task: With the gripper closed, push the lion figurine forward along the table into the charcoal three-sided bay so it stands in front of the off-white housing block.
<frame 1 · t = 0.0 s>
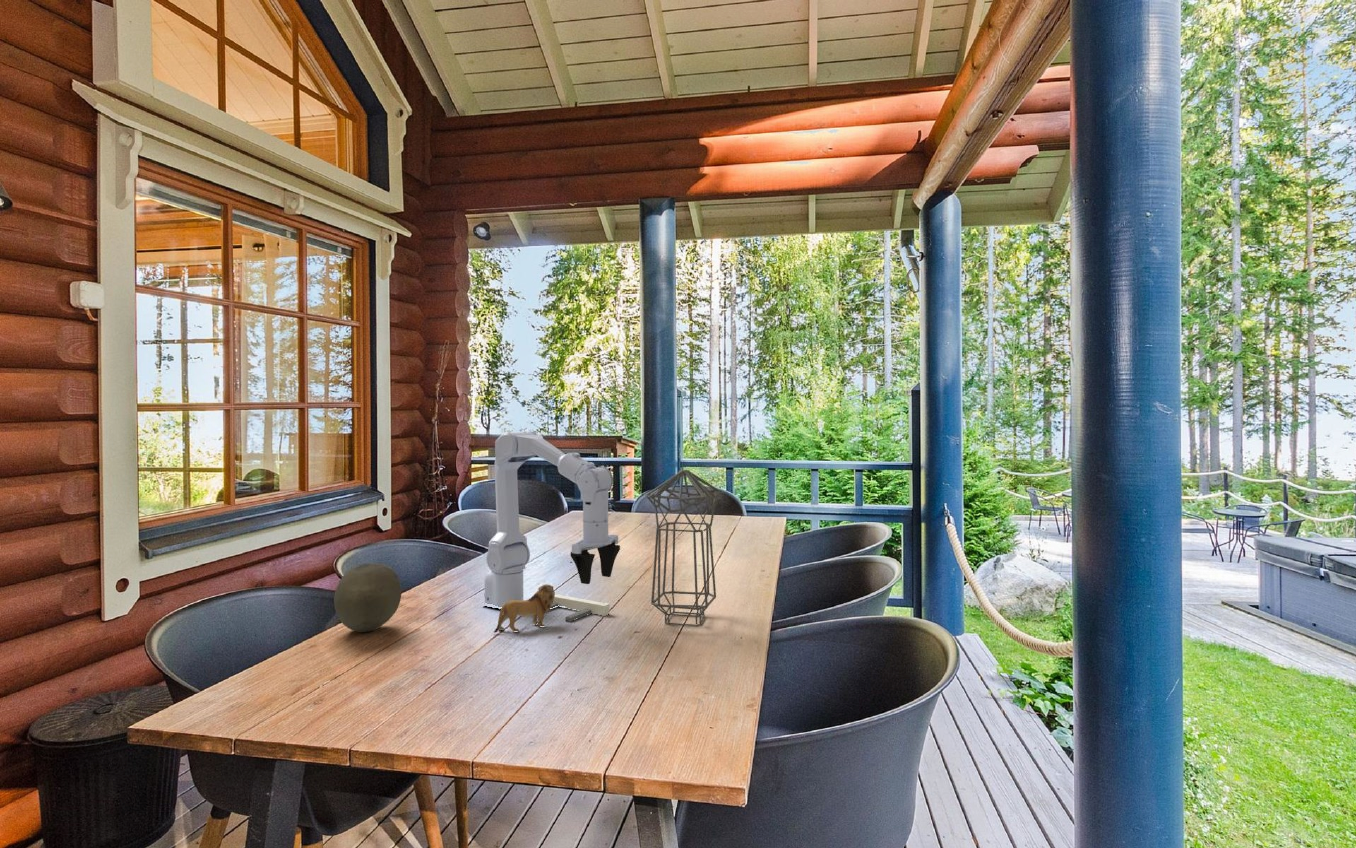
hand: (596, 579, 152), 10 cm above the table, tool pointing down, fingers open, 7 cm apart
lion figurine: (526, 628, 150), on the table
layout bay: (562, 613, 160), on the table
geometric lantern: (685, 620, 155), on the table
cantaloupe: (369, 632, 148), on the table
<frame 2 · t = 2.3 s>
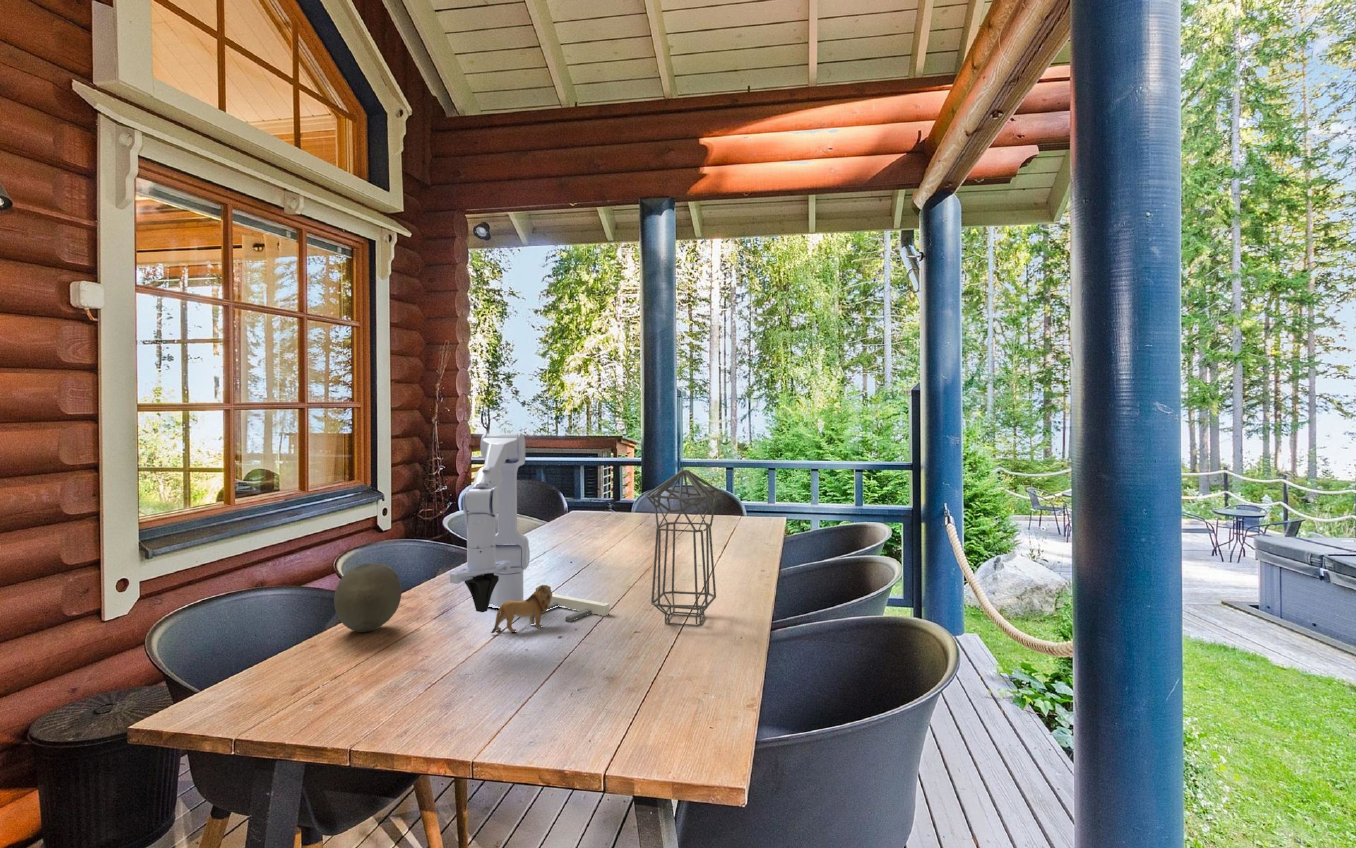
hand: (481, 611, 139), 7 cm above the table, tool pointing down, fingers closed
nothing on the table moved.
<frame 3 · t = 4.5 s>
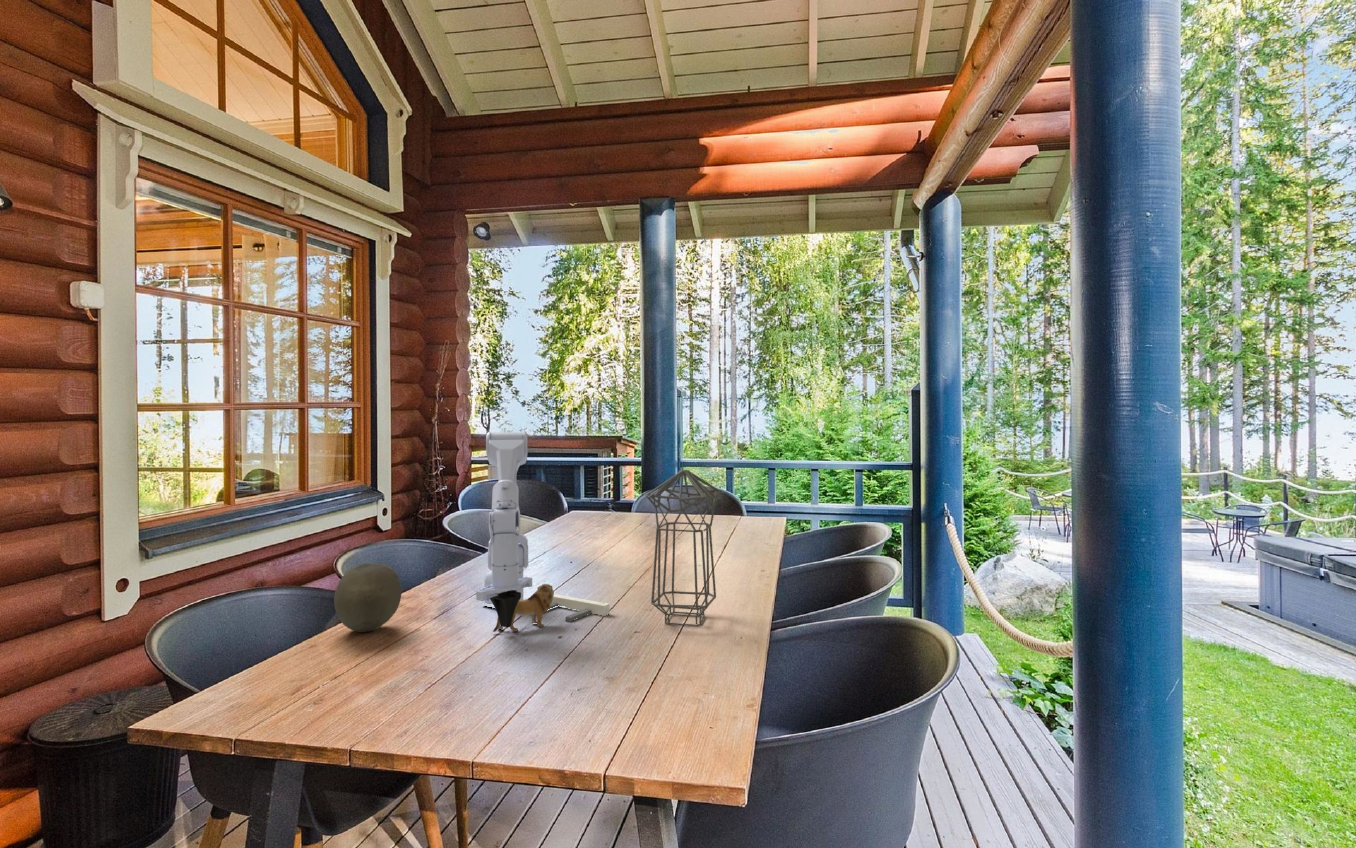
hand: (505, 626, 145), 2 cm above the table, tool pointing down, fingers closed
lion figurine: (525, 628, 150), on the table, touching gripper
everything else where it was.
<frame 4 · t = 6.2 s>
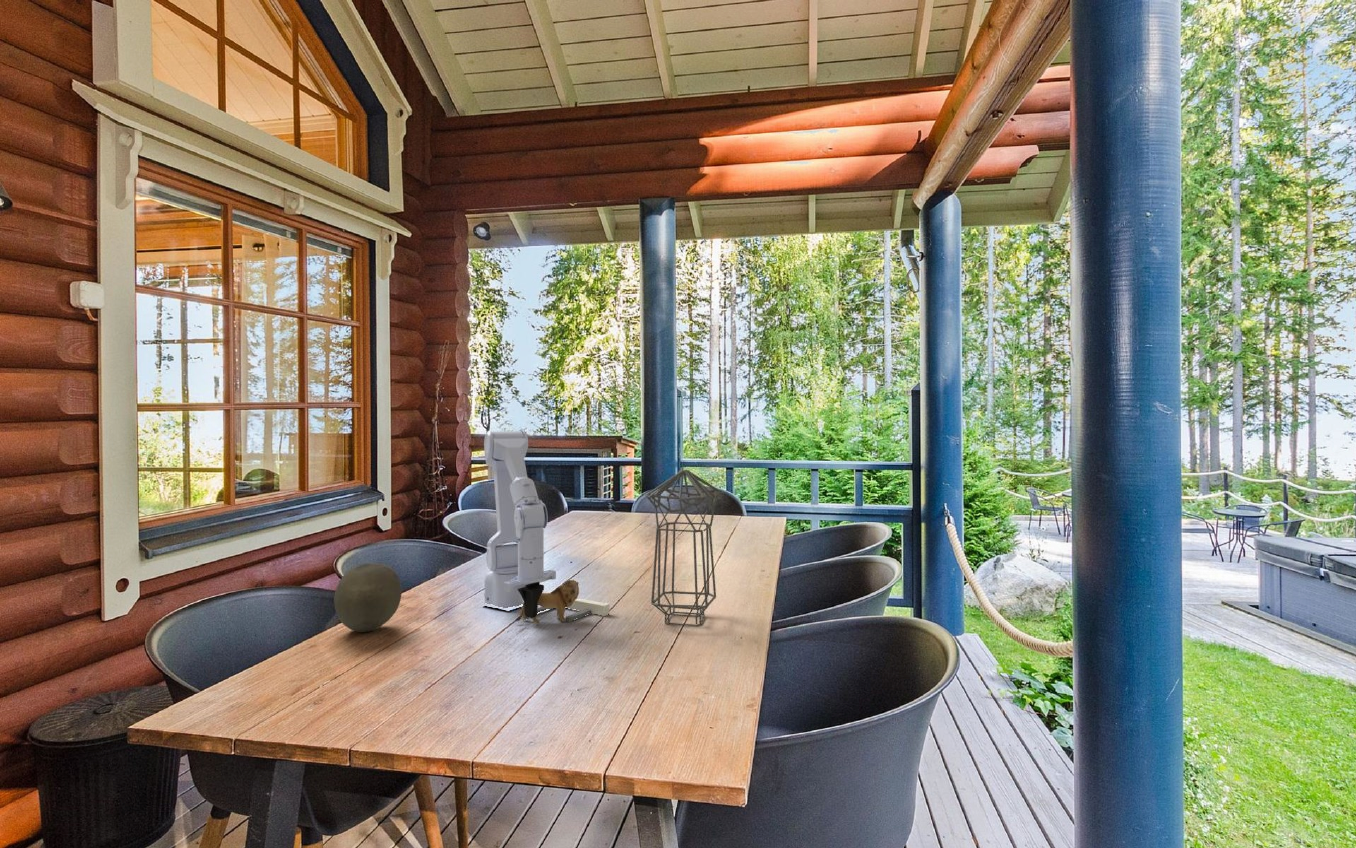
hand: (531, 616, 151), 2 cm above the table, tool pointing down, fingers closed, pressing on lion figurine
lion figurine: (549, 621, 155), on the table, touching gripper, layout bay
everything else where it was.
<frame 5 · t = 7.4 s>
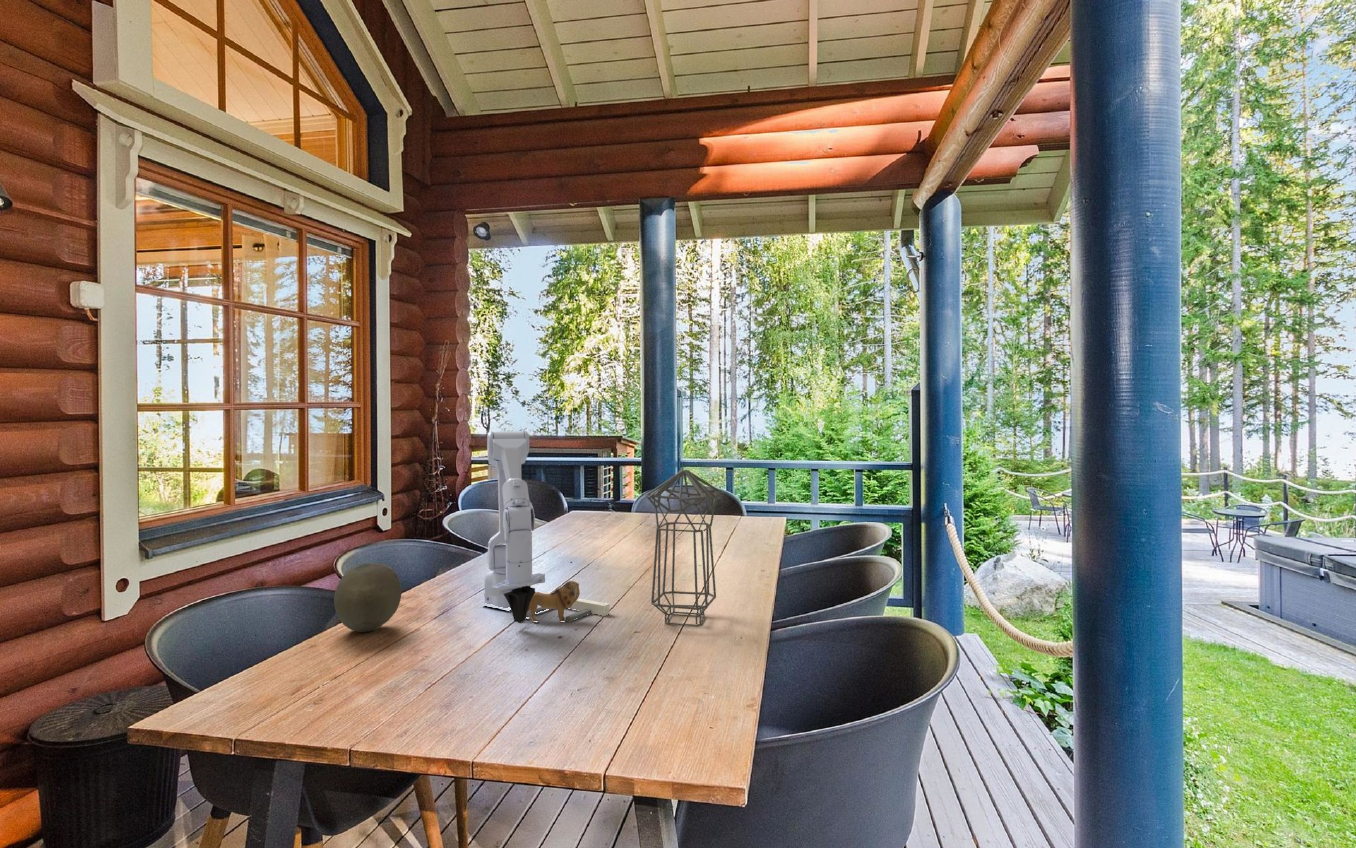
hand: (519, 621, 148), 2 cm above the table, tool pointing down, fingers closed
lion figurine: (550, 621, 156), on the table
everything else where it was.
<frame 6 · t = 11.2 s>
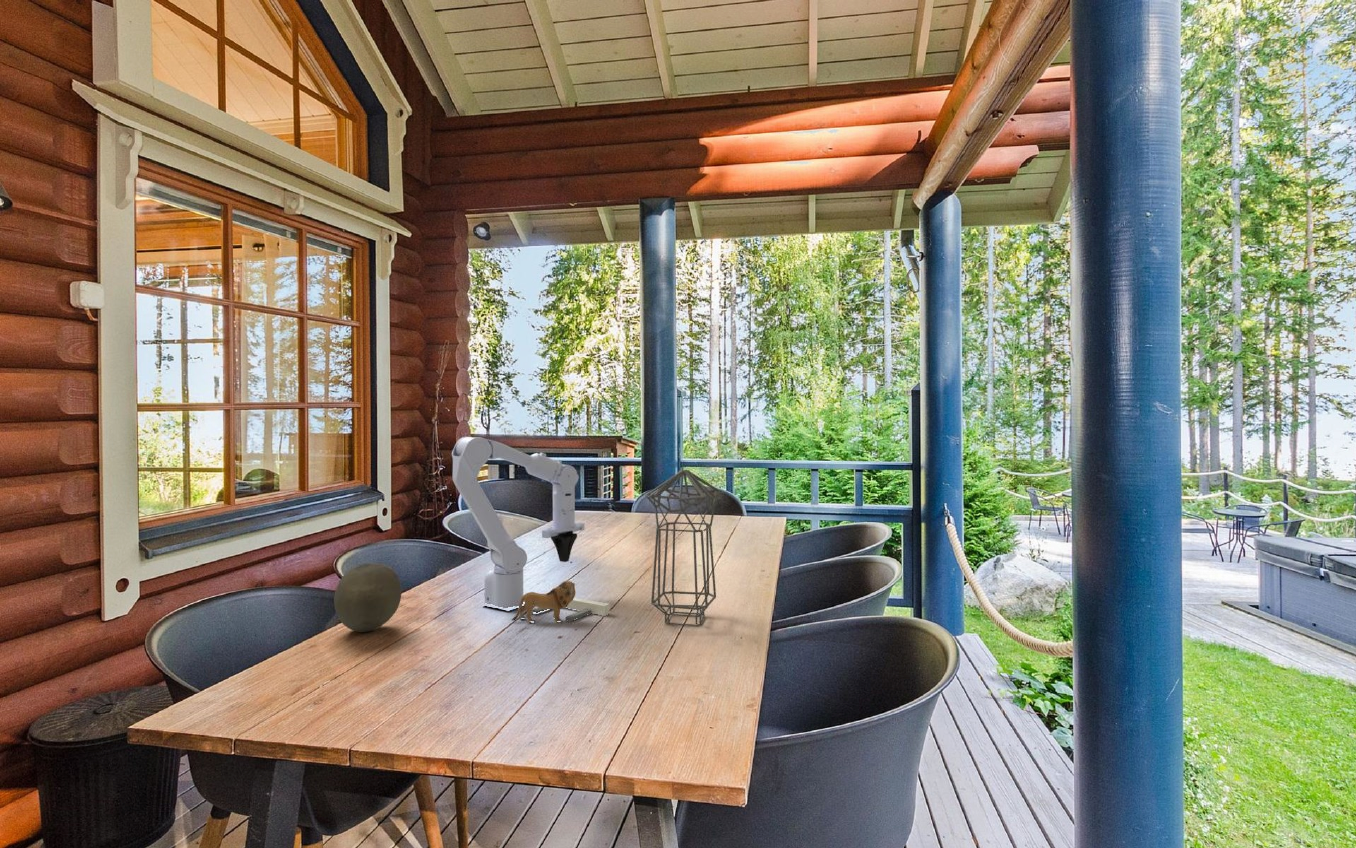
hand: (564, 561, 176), 9 cm above the table, tool pointing down, fingers closed
at the end: lion figurine inside the target area on the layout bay (3.0 cm from its centre), point 0.0 cm above the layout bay's base; lion figurine tilted 0°; lion figurine moved 6.3 cm from its start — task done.
